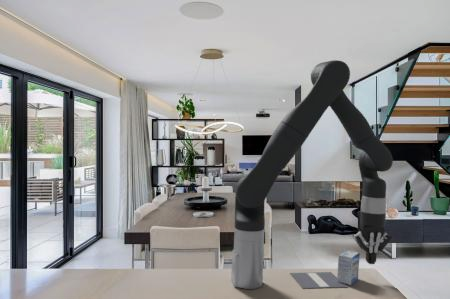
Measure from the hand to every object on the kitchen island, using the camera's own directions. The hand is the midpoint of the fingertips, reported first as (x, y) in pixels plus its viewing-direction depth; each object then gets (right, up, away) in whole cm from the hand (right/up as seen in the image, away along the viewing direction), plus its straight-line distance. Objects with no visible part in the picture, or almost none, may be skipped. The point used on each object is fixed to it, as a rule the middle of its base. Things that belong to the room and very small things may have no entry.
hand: (370, 263), depth 114 cm
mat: (-18, -5, -1) cm, 18 cm away
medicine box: (-8, -5, -1) cm, 10 cm away
